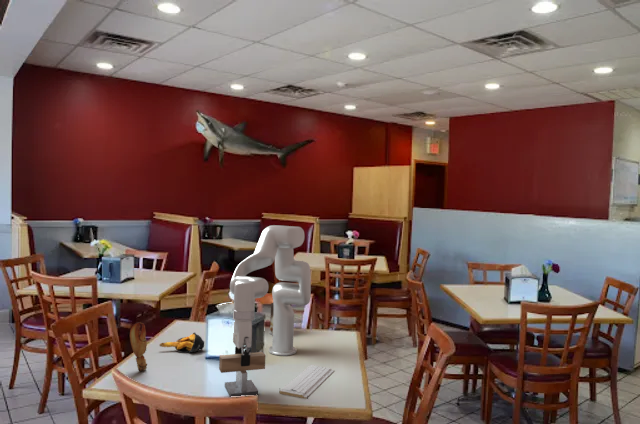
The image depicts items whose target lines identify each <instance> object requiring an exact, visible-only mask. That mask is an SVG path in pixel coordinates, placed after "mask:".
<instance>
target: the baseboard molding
mask: <svg viewBox="0 0 640 424" xmlns="http://www.w3.org/2000/svg"><path fill="white" fill-rule="evenodd" d="M334 372H335V370H334V369H332V368H330V367H324V366H318V365H312V364H310V365H308V366H307V367H306V368H305V369H304V370H303V371H301V372H299V374H298V375H297V376H296V377H294V378H293V379H291V380H290V381H289V382H288V383H287V384H286V385H284V386H283V387H282V388H280V389H279V390H278V391H279V395H280V394H281V395H285V396H289V397H291V396H292V397H295V398H301V399H308V398H309V397H310V395H311V394H313V392H315V391H316V390H317V389H318V387H320V386H321V385H322V383H324V381H326V380H327V379H328V378H329V377H330V376H331V375H332V374H333V373H334Z"/></svg>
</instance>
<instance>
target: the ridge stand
mask: <svg viewBox="0 0 640 424" xmlns="http://www.w3.org/2000/svg"><path fill="white" fill-rule="evenodd" d="M224 388H225V390H226V392H227V394H228V396H229V397H230V396H241V395H254V396H259V393H260V392H259V389H258V388H257V387H256V385H255V383H254V382H253V380H252V379H248V371H236V374H235V380H234V381H229V382H228V381H227V382H224ZM256 394H257V395H256Z"/></svg>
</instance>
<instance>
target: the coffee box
mask: <svg viewBox="0 0 640 424" xmlns="http://www.w3.org/2000/svg"><path fill="white" fill-rule="evenodd" d="M290 306H291V307H292V304H291V305H290ZM273 315H274V305H273V302H272V303H271V304H270V320H269V321H270V322H269V323H270V324H269V335H272V336H273Z"/></svg>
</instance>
